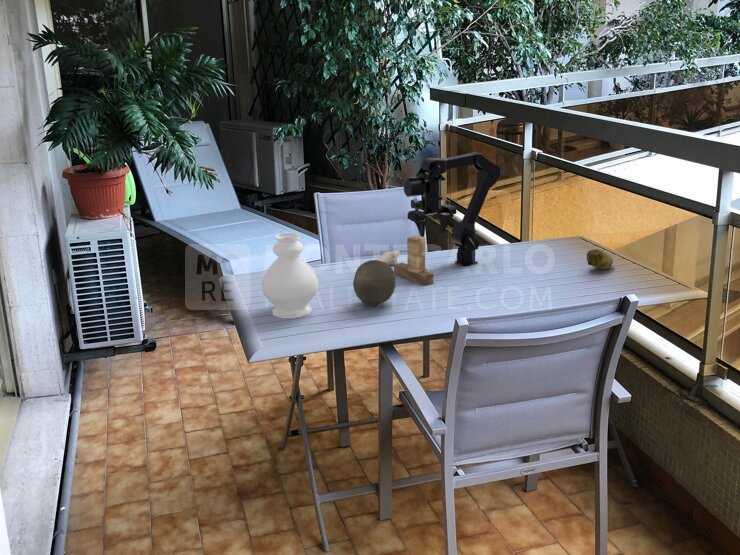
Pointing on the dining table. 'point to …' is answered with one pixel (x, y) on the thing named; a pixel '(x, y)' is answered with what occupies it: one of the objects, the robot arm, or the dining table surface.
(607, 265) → the olive green oval lump
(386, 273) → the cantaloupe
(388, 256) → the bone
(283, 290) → the decorative vase
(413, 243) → the oak post
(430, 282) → the brown wooden bar
